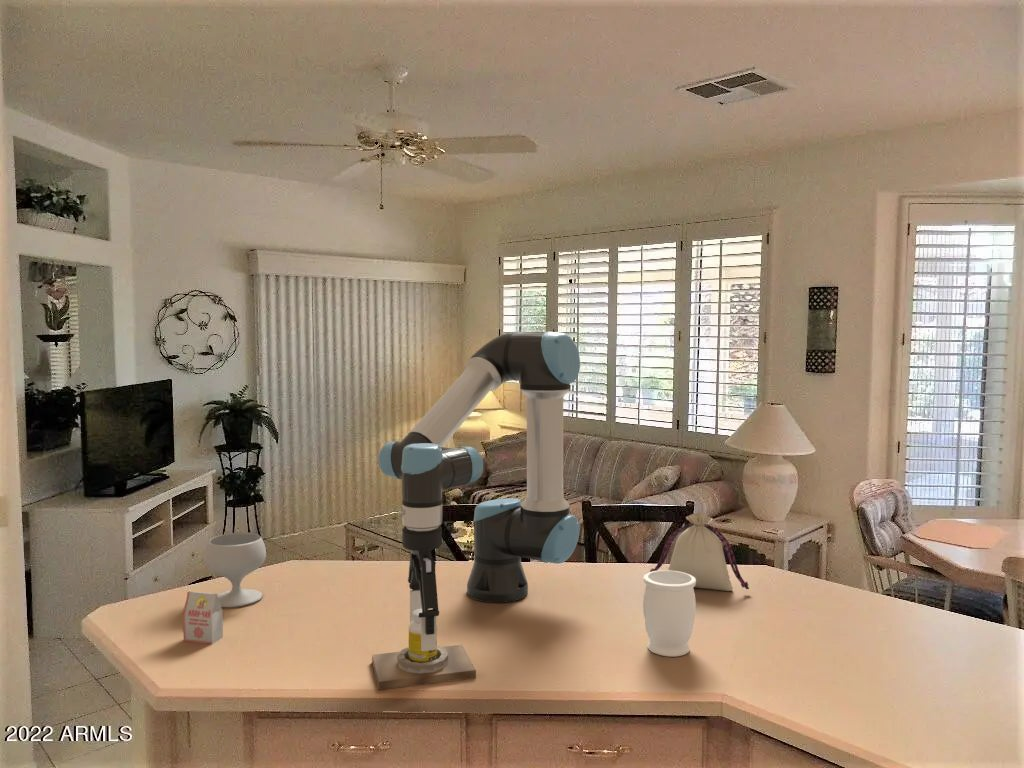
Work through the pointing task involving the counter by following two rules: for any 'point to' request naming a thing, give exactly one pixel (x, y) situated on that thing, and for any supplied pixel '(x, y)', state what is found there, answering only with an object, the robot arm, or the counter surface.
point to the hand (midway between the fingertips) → (422, 635)
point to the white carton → (202, 618)
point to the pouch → (701, 555)
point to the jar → (669, 611)
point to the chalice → (235, 564)
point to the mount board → (422, 668)
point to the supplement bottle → (419, 641)
